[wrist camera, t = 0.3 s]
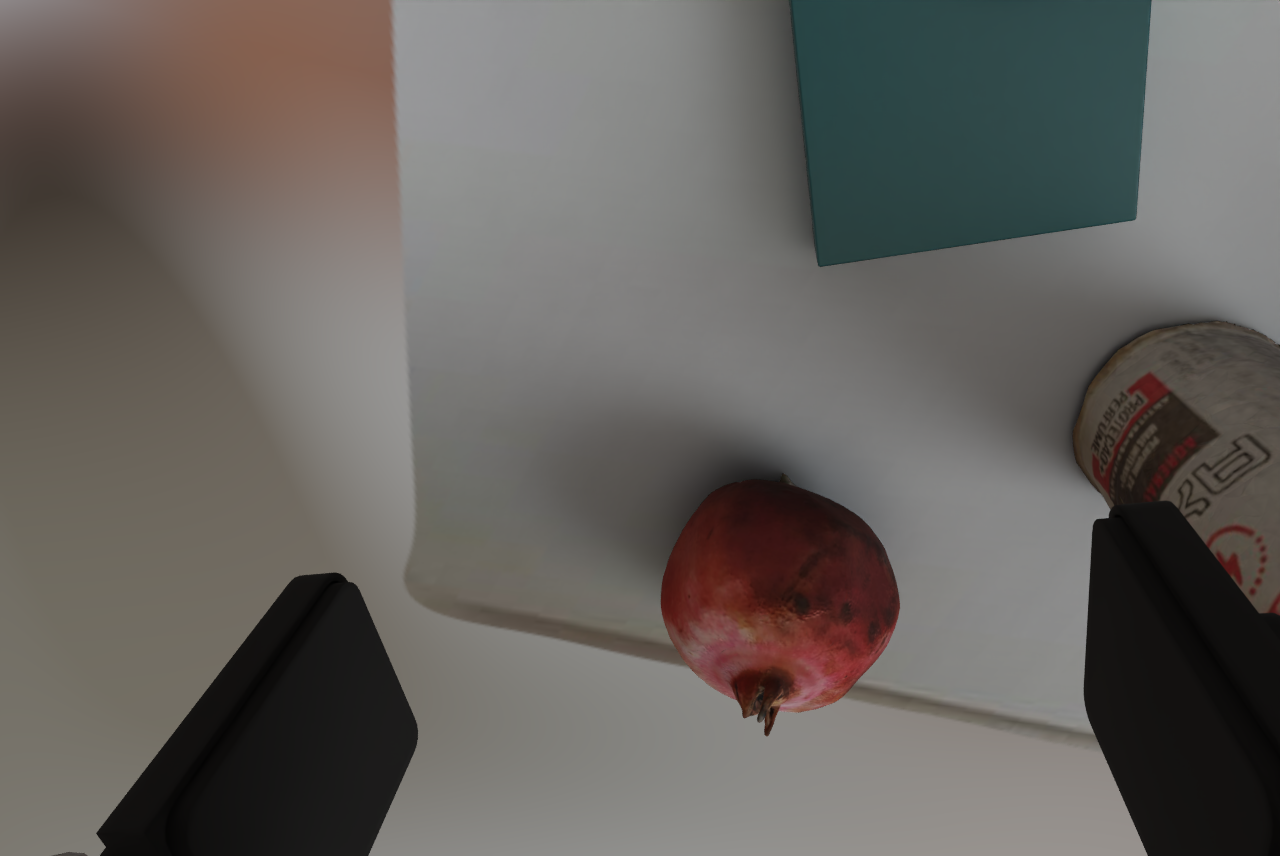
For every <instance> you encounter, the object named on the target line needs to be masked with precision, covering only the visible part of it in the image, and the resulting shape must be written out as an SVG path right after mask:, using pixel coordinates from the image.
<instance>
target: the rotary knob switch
mask: <svg viewBox="0 0 1280 856" xmlns="http://www.w3.org/2000/svg"><path fill="white" fill-rule="evenodd" d="M789 6H790V15H791V25H792V34H793V44H794V53H795V63H796V72H797V82H798V91H799V101H800V110H801V120H802V129H803V139H804V148H805V158H806V168H807V177H808V187H809V196H810V206H811V215H812V225H813V234H814V244H815V251H816V257H817V262H818V266H819V267H823V266H829V265H836V264H843V263H850V262H856V261H863V260H870V259H877V258H883V257H890V256H897V255H904V254H910V253H917V252H924V251H931V250H937V249H944V248H951V247H958V246H964V245H971V244H978V243H985V242H991V241H998V240H1005V239H1011V238H1018V237H1025V236H1032V235H1038V234H1045V233H1052V232H1059V231H1065V230H1072V229H1079V228H1086V227H1092V226H1099V225H1106V224H1113V223H1119V222H1126V221H1133V220H1136V214H1137V200H1138V186H1139V171H1140V157H1141V143H1142V129H1143V114H1144V100H1145V86H1146V72H1147V57H1148V43H1149V29H1150V15H1151V0H789Z"/></svg>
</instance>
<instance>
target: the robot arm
mask: <svg viewBox="0 0 1280 856" xmlns="http://www.w3.org/2000/svg"><path fill="white" fill-rule="evenodd" d="M1084 701H1085V707H1086V711H1087V715H1088V719H1089V721H1090V724H1091V726H1092V729H1093V731H1094V733H1095V736H1096V738H1097V740H1098V742H1099V745H1100V747H1101V749H1102V752H1103V754H1104V756H1105V758H1106V760H1107V763H1108V765H1109V767H1110V770H1111V772H1112V774H1113V777H1114V779H1115V781H1116V784H1117V786H1118V788H1119V791H1120V793H1121V795H1122V797H1123V800H1124V802H1125V804H1126V806H1127V809H1128V811H1129V813H1130V816H1131V818H1132V820H1133V822H1134V825H1135V827H1136V829H1137V832H1138V834H1139V836H1140V839H1141V841H1142V843H1143V846H1144V848H1145V850H1146V852H1147V855H1148V856H1280V615H1278V614H1276V613H1274V612H1273V613H1258V611H1257V610H1256V609H1255V607H1254V606H1253V605H1252V603H1251V602H1250V601H1249V600H1248V598H1247V597H1246V596H1245V594H1244V593H1243V592H1242V591H1241V589H1240V588H1239V587H1238V585H1237V584H1236V583H1235V581H1234V580H1233V579H1232V578H1231V576H1230V575H1229V574H1228V572H1227V571H1226V570H1225V569H1224V567H1223V566H1222V565H1221V563H1220V562H1219V561H1218V560H1217V558H1216V557H1215V556H1214V554H1213V553H1212V552H1211V550H1210V549H1209V548H1208V547H1207V545H1206V544H1205V543H1204V541H1203V540H1202V539H1201V538H1200V536H1199V535H1198V534H1197V532H1196V531H1195V530H1194V528H1193V527H1192V526H1191V525H1190V523H1189V522H1188V521H1187V519H1186V518H1185V517H1184V516H1183V514H1182V513H1181V512H1180V510H1179V509H1178V508H1177V507H1176V506H1175V505H1174V504H1173V503H1172V502H1170V501H1167V500H1166V501H1155V502H1143V503H1132V504H1120V505H1114V506H1113V507H1112V508H1111V510H1110V513H1109V518H1106V519H1097V520H1095V522H1094V524H1093V531H1092V548H1091V566H1090V585H1089V603H1088V621H1087V639H1086V657H1085V675H1084ZM417 740H418V728H417V723H416V720H415V718H414V715H413V713H412V711H411V708H410V706H409V704H408V701H407V699H406V697H405V694H404V692H403V690H402V687H401V685H400V683H399V680H398V678H397V676H396V674H395V671H394V669H393V667H392V664H391V662H390V660H389V657H388V655H387V653H386V650H385V648H384V646H383V643H382V641H381V639H380V637H379V634H378V632H377V630H376V628H375V625H374V623H373V620H372V618H371V616H370V613H369V611H368V609H367V607H366V604H365V602H364V600H363V597H362V595H361V593H360V590H359V589H358V587H357V586H356V585H355V584H354V583H352V582H348V581H347V580H346V578H345V577H344V576H343V575H341V574H339V573H325V574H313V575H302V576H298V577H295V578H294V579H293V580H292V581H291V582H290V583H289V584H288V585H287V586H286V588H285V589H284V590H283V592H282V593H281V594H280V596H279V597H278V598H277V599H276V601H275V602H274V603H273V605H272V606H271V607H270V609H269V610H268V611H267V613H266V614H265V615H264V616H263V618H262V619H261V620H260V622H259V623H258V624H257V625H256V627H255V628H254V629H253V631H252V632H251V633H250V634H249V636H248V637H247V638H246V640H245V641H244V642H243V644H242V645H241V646H240V647H239V649H238V650H237V651H236V653H235V654H234V655H233V657H232V658H231V659H230V660H229V662H228V663H227V664H226V666H225V667H224V668H223V669H222V671H221V672H220V673H219V675H218V676H217V677H216V679H215V680H214V681H213V683H212V684H211V685H210V687H209V688H208V689H207V690H206V692H205V693H204V694H203V696H202V697H201V698H200V699H199V701H198V702H197V703H196V705H195V706H194V707H193V708H192V710H191V711H190V712H189V714H188V715H187V716H186V717H185V719H184V720H183V721H182V723H181V724H180V725H179V727H178V728H177V729H176V731H175V732H174V733H173V734H172V736H171V737H170V738H169V740H168V741H167V742H166V744H165V745H164V746H163V747H162V749H161V750H160V751H159V752H158V754H157V755H156V757H155V758H154V759H153V760H152V762H151V763H150V764H149V765H148V767H147V768H146V769H145V771H144V772H143V773H142V775H141V776H140V777H139V779H138V780H137V781H136V782H135V784H134V785H133V786H132V788H131V789H130V790H129V792H128V793H127V794H126V795H125V797H124V798H123V799H122V801H121V802H120V803H119V804H118V806H117V807H116V809H115V810H114V811H113V812H112V813H111V815H110V816H109V817H108V819H107V820H106V821H105V823H104V824H103V825H102V826H101V828H100V829H99V831H98V832H97V833H96V834H97V835H98V837H99V838H100V839H101V841H102V842H103V843H104V845H105V846H106V848H105V849H104V851H103V852H102V853H101V855H100V856H368V855H369V853H370V850H371V848H372V846H373V844H374V841H375V839H376V837H377V834H378V832H379V830H380V828H381V826H382V823H383V821H384V819H385V817H386V814H387V812H388V810H389V808H390V805H391V803H392V801H393V799H394V796H395V794H396V792H397V790H398V787H399V785H400V783H401V781H402V778H403V776H404V774H405V772H406V769H407V767H408V765H409V763H410V760H411V758H412V756H413V754H414V751H415V748H416V745H417ZM53 856H87V855H86V854H84V853H72V852H67V853H62V854H58V855H53Z"/></svg>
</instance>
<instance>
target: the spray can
mask: <svg viewBox="0 0 1280 856" xmlns="http://www.w3.org/2000/svg"><path fill="white" fill-rule="evenodd" d="M1073 448H1074V455H1075V460H1076V463H1077V464H1078V465H1079V467H1080V468H1081V470H1082V471H1083V473H1084V474H1085V476H1086V477H1087V478H1088V480H1089V481H1090V483H1091V484H1092V485H1093V486H1094V487H1095V489H1096V490H1097V491H1098V492H1099V493H1101V494H1102V495H1103V497H1104V499H1105V501H1106V502H1107V504H1108V506H1109V508H1110V509H1111V508H1112V507H1113V506H1114V505H1120V504H1132V503H1143V502H1155V501H1166V500H1167V501H1170V502H1172V503H1173V504H1174V505H1175V506H1176V507H1177V508H1178V509H1179V510H1180V512H1181V513H1182V514H1183V516H1184V517H1185V518H1186V519H1187V521H1188V522H1189V523H1190V525H1191V526H1192V527H1193V528H1194V530H1195V531H1196V532H1197V534H1198V535H1199V536H1200V538H1201V539H1202V540H1203V541H1204V543H1205V544H1206V545H1207V547H1208V548H1209V549H1210V550H1211V552H1212V553H1213V554H1214V556H1215V557H1216V558H1217V560H1218V561H1219V562H1220V563H1221V565H1222V566H1223V567H1224V569H1225V570H1226V571H1227V572H1228V574H1229V575H1230V576H1231V578H1232V579H1233V580H1234V581H1235V583H1236V584H1237V585H1238V587H1239V588H1240V589H1241V591H1242V592H1243V593H1244V594H1245V596H1246V597H1247V598H1248V600H1249V601H1250V602H1251V603H1252V605H1253V606H1254V607H1255V609H1256V610H1257V611H1258V613H1273V612H1274V613H1276V614H1278V615H1280V345H1277V344H1275V342H1274V341H1273V340H1272V339H1269V338H1267V336H1265V335H1263V334H1261V333H1259V332H1256V331H1255V330H1250V329H1248V328H1245V327H1241V326H1235V324H1232V323H1228V322H1227V321H1226V322H1224V321H1223V322H1220V321H1212V322H1208V323H1202V322H1201V323H1198V324H1194V325H1192V324H1184V325H1181V326H1174V327H1169V328H1163V329H1157V330H1153V331H1151V332H1149V333H1147V334H1145V335H1142V336H1140V337H1138V338H1136V339H1135V340H1133V341H1132V342H1131V343H1129V344H1128V345H1126V346H1124V347H1122V348H1121V349H1119V350H1118V351H1117V352H1116V353H1115V354H1114V355H1113V356H1112V358H1111V359H1110V360H1109V361H1108V362H1107V363H1106V365H1105V366H1104V367H1103V368H1102V369H1101V371H1100V372H1099V373H1098V374H1097V376H1096V377H1095V378H1094V379H1093V381H1092V382H1091V384H1090V385H1089V387H1088V390H1087V393H1086V396H1085V399H1084V403H1083V406H1082V409H1081V412H1080V415H1079V417H1078V420H1077V422H1076V425H1075V428H1074V430H1073Z"/></svg>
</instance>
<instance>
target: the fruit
mask: <svg viewBox="0 0 1280 856" xmlns="http://www.w3.org/2000/svg"><path fill="white" fill-rule="evenodd" d="M899 609H900V601H899V594H898V588H897V583H896V580H895V576H894V573H893V569H892V567H891V564H890V562H889V559H888V556H887V554H886V551H885V549H884V547H883V545H882V543H881V542H880V540H879V539H878V537H877V536H876V535H875V533H874V532H873V531H872V529H871V528H870V527H869V526H868V525H867V524H866V523H865V522H864V521H863V520H862V519H861V518H860V517H859V516H857V515H856V514H854V513H853V512H851V511H850V510H848V509H847V508H845V507H843V506H842V505H840V504H838V503H836V502H834V501H832V500H830V499H828V498H825V497H823V496H820V495H818V494H815V493H813V492H810V491H807V490H805V489H802V488H799V487H796V486H795V485H794V484H793V483H792V482H791V480H790V479H789V478H788V476H787V475H786V474H784V473H783V474H782V476H781V479H780V481H779V482H775V481H769V480H761V479H751V480H745V481H742V482H734V483H731V484H728V485H725V486H723V487H721V488H719V489H716V490H715V491H713V492H712V493H711V494H709V495H708V497H707V498H706V499H705V500H704V501H703V502H702V503H701V505H700V506H699V507H698V509H697V510H696V511H695V512H694V514H693V515H692V517H691V518H690V519H689V521H688V522H687V524H686V525H685V527H684V529H683V530H682V532H681V534H680V536H679V538H678V540H677V542H676V544H675V546H674V548H673V550H672V552H671V555H670V557H669V560H668V563H667V566H666V569H665V573H664V576H663V581H662V590H661V610H662V615H663V619H664V623H665V626H666V628H667V631H668V634H669V636H670V639H671V640H672V642H673V644H674V645H675V647H676V649H677V650H678V652H679V654H680V655H681V657H682V658H683V660H684V661H685V662H686V664H687V665H688V666H689V667H690V668H691V669H692V671H693V672H694V673H695V674H696V675H697V676H698V677H700V678H701V679H702V680H704V681H705V682H706V683H707V684H708V685H709V686H711V687H712V688H714V689H715V690H717V691H719V692H720V693H722V694H724V695H726V696H728V697H730V698H732V699H735V700H737V701H738V703H739V704H740V706H741V708H742V712H743V713H742V714H743V718H747V717H749V716H752V715H757V714H758V713H759V714H758V717H757V721H758V722H759V723H760V722H762V721H763V719H764V718H765V729H764V732H765V735H766V736H768V735H769V734H770V731H771V729H772V727H773V724H774V721H775V717H776V715H777V713H778V711H783V712H798V713H799V712H804V711H809V710H814V709H818V708H821V707H823V706H826V705H829V704H832V703H834V702H836V701H837V700H839V699H840V698H842V697H843V696H844V695H845V694H846V693H847V692H848V691H849V690H850V689H851V687H852V686H853V685H854V684H855V683H856V681H857V680H858V679H859V678H860V677H861V676H862V675H863V674H864V673H865V672H866V671H867V670H868V669H869V668H870V667H871V666H872V665H873V663H874V662H875V661H876V660H877V659H878V657H879V656H880V655H881V654H882V652H883V651H884V649H885V648H886V646H887V644H888V643H889V641H890V638H891V636H892V634H893V631H894V629H895V626H896V622H897V619H898V615H899Z"/></svg>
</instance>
